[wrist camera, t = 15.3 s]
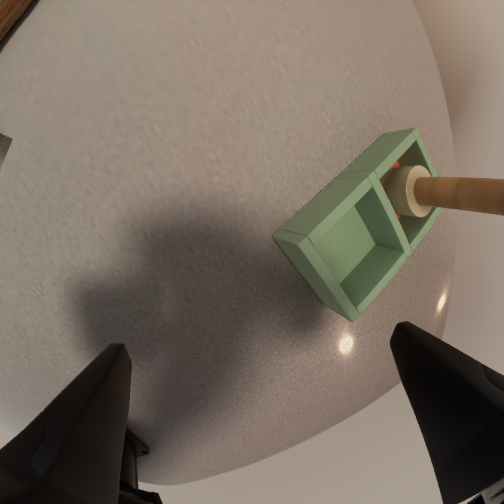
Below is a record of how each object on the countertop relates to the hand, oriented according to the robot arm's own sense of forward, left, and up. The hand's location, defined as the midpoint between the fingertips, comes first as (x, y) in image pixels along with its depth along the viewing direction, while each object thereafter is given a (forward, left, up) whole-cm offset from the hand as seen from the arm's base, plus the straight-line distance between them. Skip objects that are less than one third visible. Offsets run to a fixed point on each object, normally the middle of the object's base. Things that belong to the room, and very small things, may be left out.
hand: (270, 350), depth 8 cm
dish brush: (0, -16, -11) cm, 19 cm away
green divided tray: (-1, -13, -11) cm, 17 cm away
